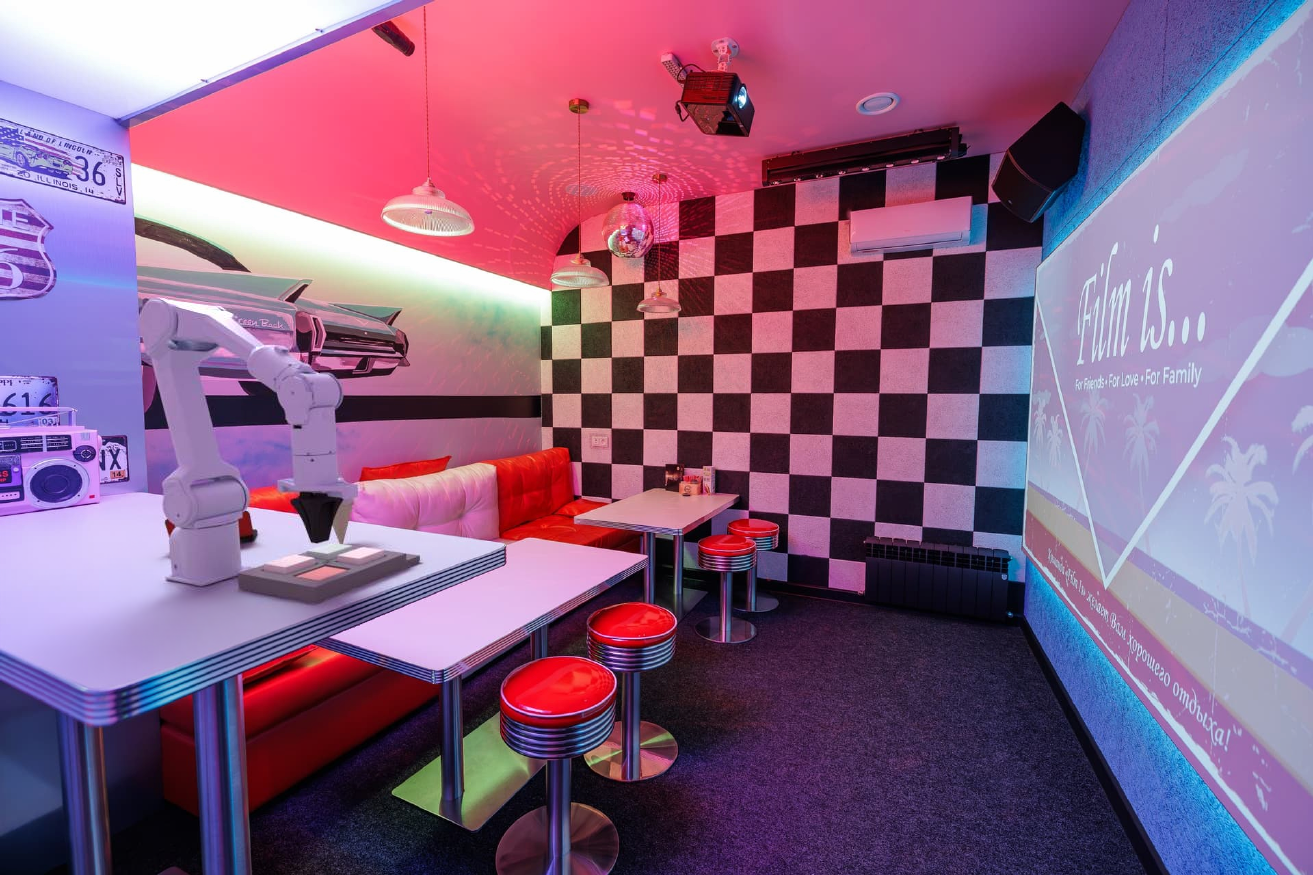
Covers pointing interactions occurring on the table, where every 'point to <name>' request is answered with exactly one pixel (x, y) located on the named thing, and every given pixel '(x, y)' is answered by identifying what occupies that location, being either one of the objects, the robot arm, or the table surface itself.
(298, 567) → the ivory key
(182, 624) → the table surface
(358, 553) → the ivory key
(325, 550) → the mint key
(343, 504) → the ice cream cone
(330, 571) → the coral key
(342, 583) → the keypad frame
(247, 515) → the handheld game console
